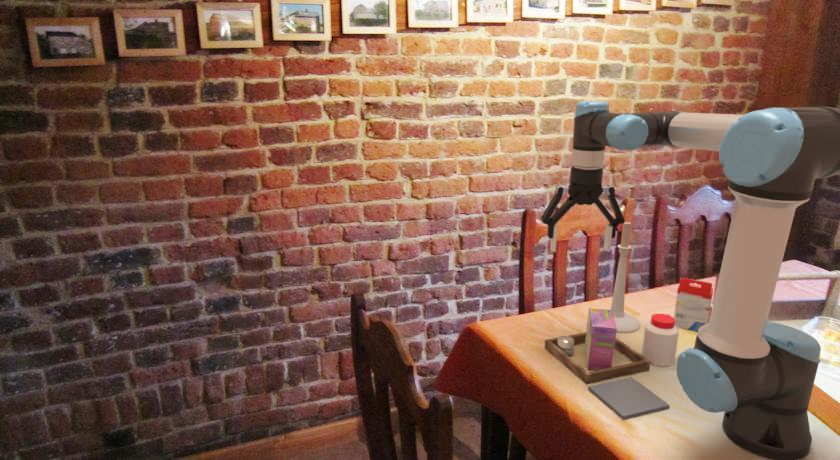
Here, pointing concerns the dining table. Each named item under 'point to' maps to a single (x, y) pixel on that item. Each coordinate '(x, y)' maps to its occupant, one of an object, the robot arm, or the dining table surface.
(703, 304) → the ink box
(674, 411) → the dining table surface
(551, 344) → the wooden tray
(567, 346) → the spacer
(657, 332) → the pill bottle
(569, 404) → the dining table surface
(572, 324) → the dining table surface
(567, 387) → the dining table surface
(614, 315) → the candlestick
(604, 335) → the box
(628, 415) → the coaster
